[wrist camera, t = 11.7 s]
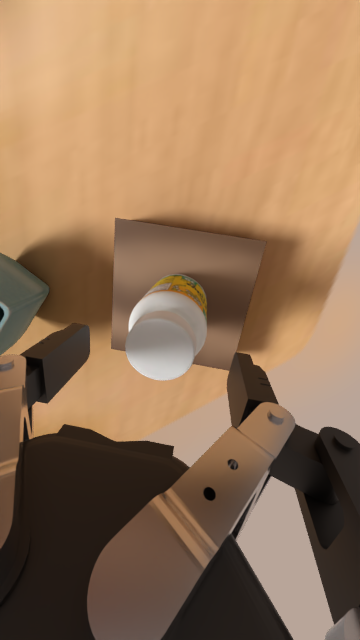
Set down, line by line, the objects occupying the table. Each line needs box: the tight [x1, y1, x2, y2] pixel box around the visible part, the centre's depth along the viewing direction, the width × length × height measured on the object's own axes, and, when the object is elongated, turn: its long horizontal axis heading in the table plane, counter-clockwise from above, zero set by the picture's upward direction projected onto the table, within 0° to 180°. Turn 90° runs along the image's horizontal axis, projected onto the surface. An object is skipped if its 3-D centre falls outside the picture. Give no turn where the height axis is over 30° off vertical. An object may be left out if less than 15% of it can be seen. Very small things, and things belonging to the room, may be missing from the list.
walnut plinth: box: [111, 218, 266, 371], centre depth 23 cm, size 13×13×4 cm
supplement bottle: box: [125, 274, 207, 380], centre depth 17 cm, size 5×5×10 cm
